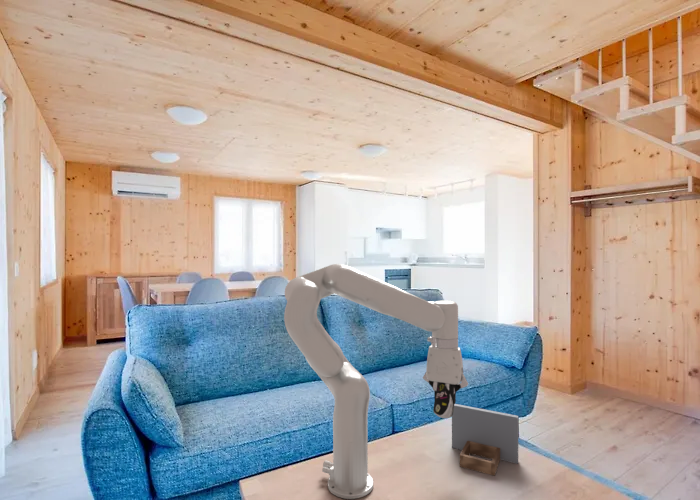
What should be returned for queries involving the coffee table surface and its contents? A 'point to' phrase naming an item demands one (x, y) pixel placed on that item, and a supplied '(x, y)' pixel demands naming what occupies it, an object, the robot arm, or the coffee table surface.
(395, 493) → the coffee table surface
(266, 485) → the coffee table surface
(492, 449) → the brown wooden open box
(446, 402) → the beverage can
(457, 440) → the wall board
